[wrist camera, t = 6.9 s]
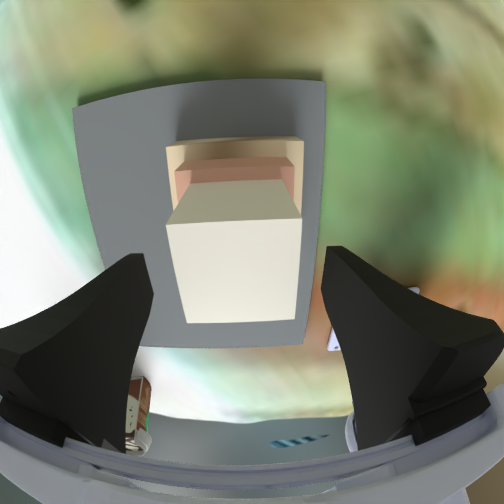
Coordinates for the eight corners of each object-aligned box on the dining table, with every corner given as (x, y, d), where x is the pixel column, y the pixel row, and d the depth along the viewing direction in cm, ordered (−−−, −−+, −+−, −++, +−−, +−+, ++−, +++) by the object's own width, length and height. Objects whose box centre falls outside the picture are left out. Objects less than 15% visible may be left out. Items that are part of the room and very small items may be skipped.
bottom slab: (295, 136, 17) (303, 141, 15) (292, 242, 21) (298, 259, 19) (175, 141, 17) (165, 146, 15) (187, 246, 21) (181, 263, 19)
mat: (322, 82, 16) (325, 81, 15) (302, 338, 28) (303, 344, 27) (77, 107, 15) (72, 108, 14) (137, 340, 27) (135, 345, 27)
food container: (117, 402, 36) (105, 453, 27) (92, 382, 33) (75, 436, 24) (177, 397, 34) (169, 459, 25) (151, 375, 31) (137, 442, 22)
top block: (282, 179, 13) (302, 218, 9) (280, 257, 16) (294, 319, 11) (190, 183, 13) (165, 224, 9) (200, 261, 16) (186, 323, 11)
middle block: (287, 157, 15) (294, 166, 13) (284, 247, 18) (290, 268, 16) (183, 161, 15) (174, 171, 13) (194, 250, 18) (188, 271, 16)
